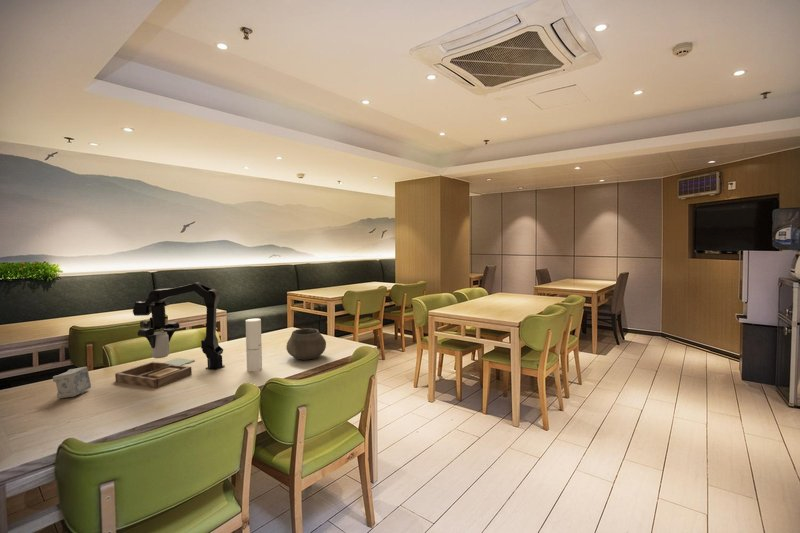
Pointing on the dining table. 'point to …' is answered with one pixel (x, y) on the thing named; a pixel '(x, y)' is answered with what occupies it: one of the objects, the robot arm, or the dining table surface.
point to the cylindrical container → (253, 344)
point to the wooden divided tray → (144, 380)
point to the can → (161, 345)
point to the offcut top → (163, 373)
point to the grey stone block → (72, 382)
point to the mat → (179, 361)
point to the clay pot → (306, 344)
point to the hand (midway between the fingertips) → (160, 346)
